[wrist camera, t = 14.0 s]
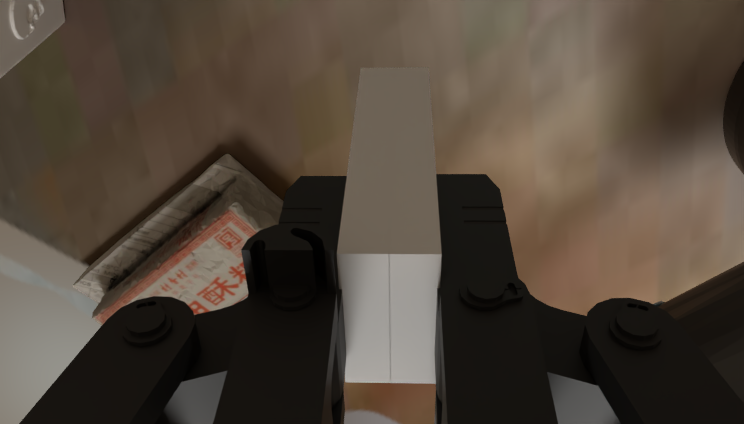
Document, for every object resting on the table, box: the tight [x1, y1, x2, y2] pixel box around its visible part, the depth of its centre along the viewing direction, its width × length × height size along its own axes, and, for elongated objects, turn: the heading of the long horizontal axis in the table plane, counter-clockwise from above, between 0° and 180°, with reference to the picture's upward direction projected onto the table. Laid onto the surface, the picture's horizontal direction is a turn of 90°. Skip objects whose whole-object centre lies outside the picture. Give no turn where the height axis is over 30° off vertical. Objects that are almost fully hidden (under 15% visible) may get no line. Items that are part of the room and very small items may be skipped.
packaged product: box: [73, 154, 284, 325], centre depth 51 cm, size 18×5×10 cm
